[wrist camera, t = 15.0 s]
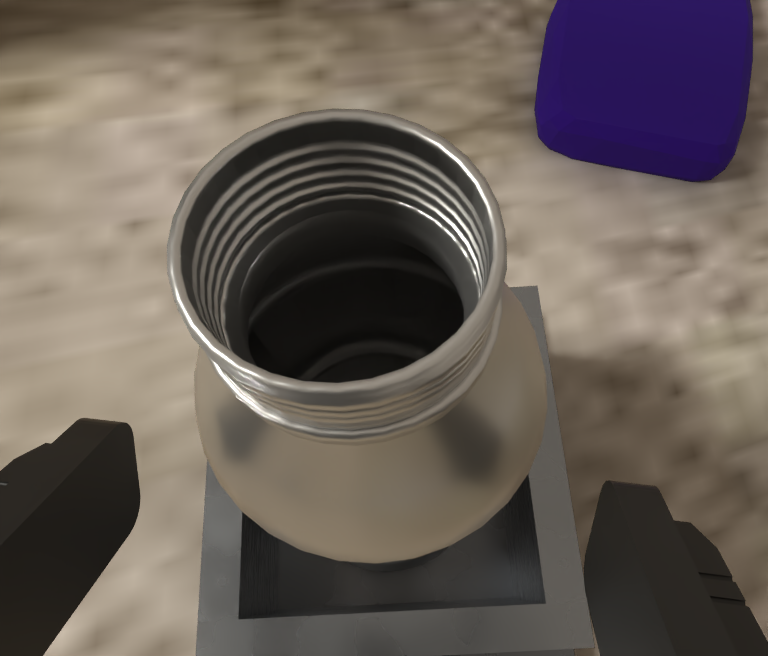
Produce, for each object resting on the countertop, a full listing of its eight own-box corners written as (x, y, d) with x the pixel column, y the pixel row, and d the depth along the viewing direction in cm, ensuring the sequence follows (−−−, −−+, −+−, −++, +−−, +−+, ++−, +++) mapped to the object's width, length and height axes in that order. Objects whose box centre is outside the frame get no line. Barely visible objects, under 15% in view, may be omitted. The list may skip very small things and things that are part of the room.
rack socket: (244, 331, 29) (197, 261, 23) (519, 315, 29) (552, 239, 22) (229, 697, 23) (161, 743, 17) (571, 680, 23) (635, 719, 17)
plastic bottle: (322, 399, 27) (127, -6, 8) (479, 423, 26) (655, 41, 7) (290, 556, 24) (-89, 491, 6) (461, 586, 24) (656, 621, 5)
